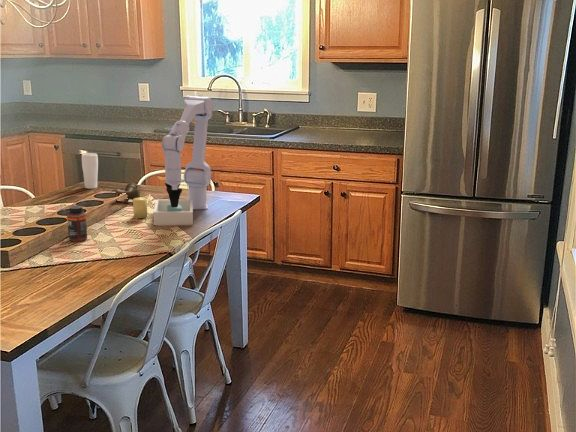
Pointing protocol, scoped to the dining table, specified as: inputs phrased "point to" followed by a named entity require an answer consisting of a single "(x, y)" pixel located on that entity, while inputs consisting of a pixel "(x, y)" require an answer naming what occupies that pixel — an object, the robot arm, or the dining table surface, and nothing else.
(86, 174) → the drinking glass
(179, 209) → the teal cube
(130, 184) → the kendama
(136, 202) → the mustard cylinder
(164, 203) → the grey tote
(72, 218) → the supplement bottle
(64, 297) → the dining table surface
